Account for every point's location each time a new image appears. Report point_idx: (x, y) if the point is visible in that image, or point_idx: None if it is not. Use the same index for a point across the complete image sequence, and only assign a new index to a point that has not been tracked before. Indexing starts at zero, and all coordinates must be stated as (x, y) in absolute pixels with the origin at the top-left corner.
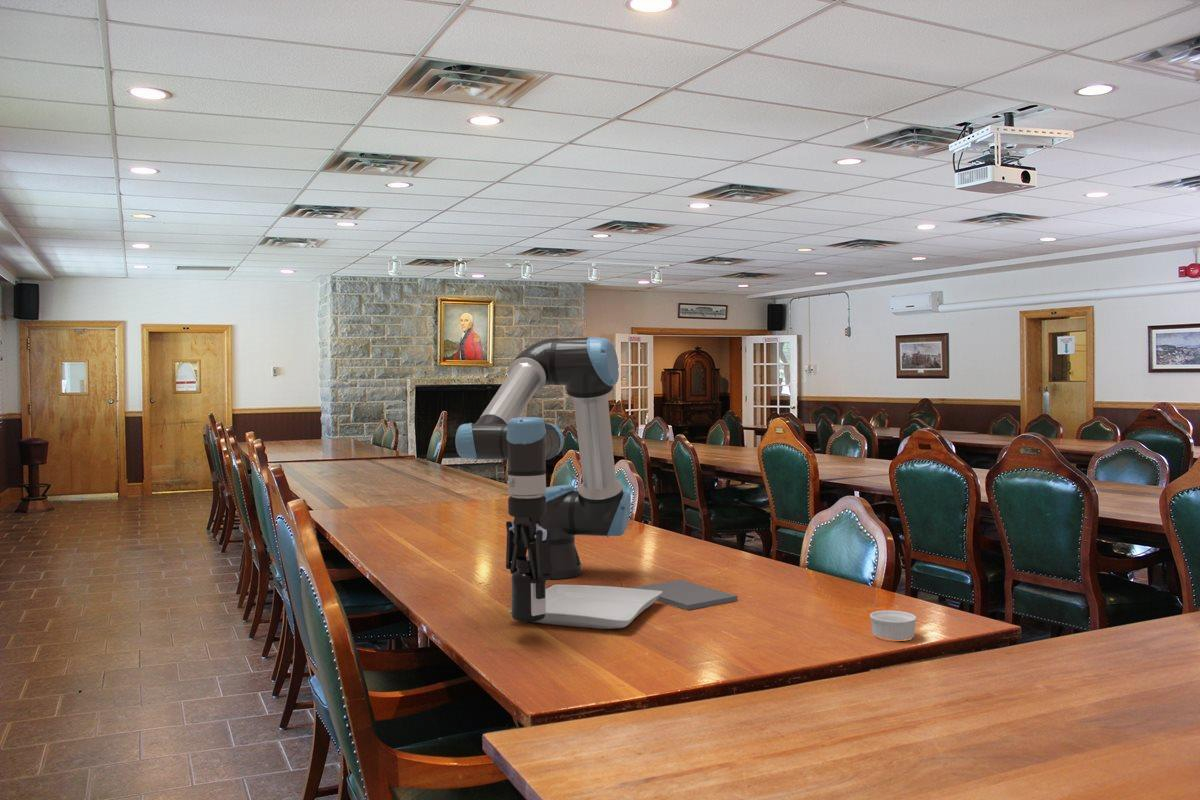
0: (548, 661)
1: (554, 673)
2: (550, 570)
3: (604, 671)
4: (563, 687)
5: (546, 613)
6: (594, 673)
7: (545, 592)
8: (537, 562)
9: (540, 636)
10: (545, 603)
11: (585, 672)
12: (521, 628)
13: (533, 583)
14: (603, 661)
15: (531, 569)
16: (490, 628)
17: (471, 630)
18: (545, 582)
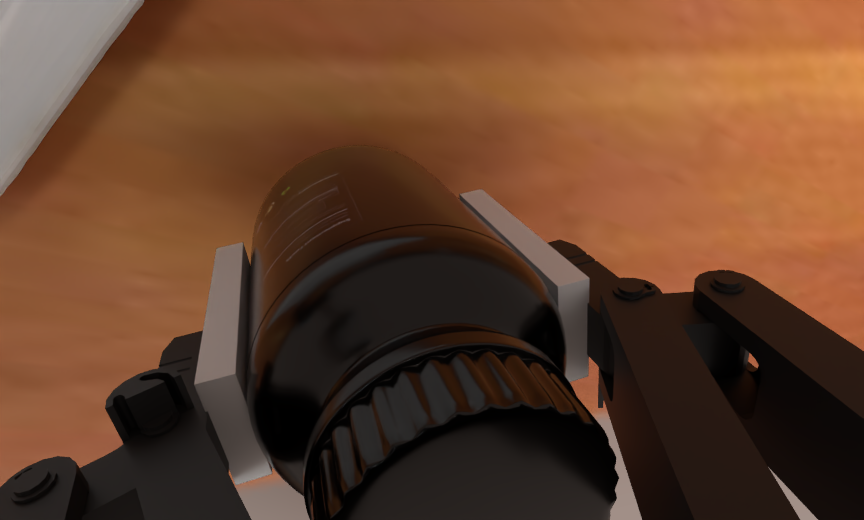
0: (631, 211)
1: (736, 230)
2: (799, 318)
3: (830, 65)
4: (834, 243)
5: (118, 32)
6: (819, 108)
7: (447, 196)
8: (801, 487)
9: (297, 125)
10: (425, 174)
11: (793, 133)
12: (94, 169)
13: (585, 367)
14: (756, 11)
15: (623, 454)
16: (44, 318)
17: (61, 402)
18: (477, 224)
